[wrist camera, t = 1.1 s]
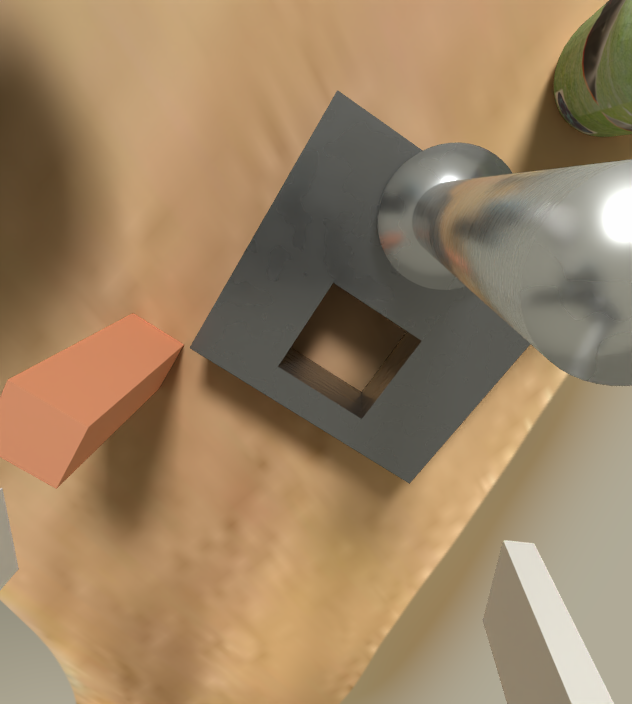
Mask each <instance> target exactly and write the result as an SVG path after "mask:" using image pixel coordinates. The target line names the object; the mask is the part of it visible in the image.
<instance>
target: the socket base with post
mask: <svg viewBox="0 0 632 704" xmlns="http://www.w3.org/2000/svg"><path fill="white" fill-rule="evenodd" d="M333 283H334V284H336V285H337V286H339V287H341V288H342V289H344V290H345V291H347V292H348V293H350V294H351V295H353V296H354V297H356V298H357V299H359V300H360V301H362V302H363V303H365V304H366V305H368V306H369V307H371V308H372V309H374V310H376V311H377V312H379V313H380V314H382V315H383V316H385V317H386V318H388V319H389V320H391V321H392V322H394V323H395V324H397V325H398V326H400V327H401V328H403V329H404V330H406V331H407V333H406V334H405V335H404V337H403V338H402V339H401V341H400V342H399V343H398V345H397V346H396V347H395V349H394V350H393V351H392V353H391V354H390V355H389V357H388V358H387V359H386V361H385V362H384V363H383V365H382V366H381V367H380V369H379V370H378V371H377V373H376V374H375V375H374V377H373V378H372V379H371V381H370V382H369V383H368V385H367V386H366V387H365V389H364V390H363V391H362V392H360V391H358V390H357V389H355V388H354V387H352V386H351V385H349V384H347V383H346V382H344V381H343V380H341V379H339V378H338V377H336V376H335V375H333V374H332V373H330V372H328V371H327V370H325V369H324V368H322V367H321V366H319V365H317V364H316V363H314V362H313V361H311V360H309V359H308V358H306V357H305V356H303V355H302V354H300V353H298V352H297V351H295V350H294V349H292V348H291V346H292V344H293V343H294V341H295V340H296V338H297V337H298V335H299V334H300V332H301V331H302V329H303V328H304V326H305V325H306V323H307V322H308V320H309V319H310V317H311V316H312V314H313V313H314V311H315V310H316V308H317V307H318V305H319V304H320V302H321V301H322V299H323V298H324V296H325V294H326V293H327V291H328V290H329V288H330V287H331V285H332V284H333ZM530 344H531V345H532V346H534V347H535V348H536V349H537V350H538V351H539V352H540V353H541V354H542V355H544V356H545V357H546V358H547V359H548V360H549V361H550V362H552V363H553V364H554V365H556V366H557V367H558V368H559V369H561V370H563V371H565V372H566V373H568V374H570V375H572V376H574V377H577V378H579V379H582V380H584V381H588V382H592V383H596V384H602V385H610V386H630V385H632V159H631V160H623V161H615V162H606V163H598V164H589V165H581V166H573V167H564V168H556V169H548V170H539V171H531V172H523V173H514V174H513V173H512V172H511V170H510V169H509V167H508V166H507V165H506V164H505V163H504V162H503V161H502V160H501V159H500V158H499V157H497V156H496V155H495V154H493V153H492V152H490V151H488V150H486V149H484V148H482V147H479V146H476V145H472V144H466V143H447V144H441V145H437V146H434V147H431V148H428V149H426V150H424V151H422V150H421V149H420V148H418V147H417V146H415V145H414V144H413V143H411V142H410V141H408V140H407V139H405V138H404V137H403V136H401V135H400V134H398V133H397V132H396V131H394V130H393V129H391V128H390V127H389V126H387V125H386V124H384V123H383V122H381V121H380V120H379V119H377V118H376V117H374V116H373V115H372V114H370V113H369V112H367V111H366V110H365V109H363V108H362V107H360V106H359V105H357V104H356V103H355V102H353V101H352V100H350V99H349V98H348V97H346V96H345V95H343V94H342V93H341V92H339V91H338V90H337V92H336V94H335V96H334V97H333V99H332V101H331V103H330V104H329V106H328V108H327V110H326V111H325V113H324V115H323V116H322V118H321V120H320V122H319V123H318V125H317V127H316V129H315V130H314V132H313V134H312V136H311V137H310V139H309V141H308V143H307V144H306V146H305V148H304V150H303V151H302V153H301V155H300V157H299V158H298V160H297V162H296V164H295V165H294V167H293V169H292V170H291V172H290V174H289V176H288V177H287V179H286V181H285V183H284V184H283V186H282V188H281V190H280V191H279V193H278V195H277V197H276V198H275V200H274V202H273V204H272V205H271V207H270V209H269V211H268V212H267V214H266V216H265V217H264V219H263V221H262V223H261V224H260V226H259V228H258V230H257V231H256V233H255V235H254V237H253V238H252V240H251V242H250V244H249V245H248V247H247V249H246V251H245V252H244V254H243V256H242V258H241V259H240V261H239V263H238V265H237V266H236V268H235V270H234V271H233V273H232V275H231V277H230V278H229V280H228V282H227V284H226V285H225V287H224V289H223V291H222V292H221V294H220V296H219V298H218V299H217V301H216V303H215V305H214V306H213V308H212V310H211V312H210V313H209V315H208V317H207V318H206V320H205V322H204V324H203V325H202V327H201V329H200V331H199V332H198V334H197V336H196V338H195V339H194V341H193V343H192V345H191V346H190V349H192V350H194V351H195V352H197V353H199V354H200V355H202V356H203V357H205V358H207V359H208V360H210V361H212V362H213V363H215V364H216V365H218V366H220V367H221V368H223V369H225V370H226V371H228V372H229V373H231V374H233V375H234V376H236V377H237V378H239V379H241V380H242V381H244V382H246V383H247V384H249V385H250V386H252V387H254V388H255V389H257V390H259V391H260V392H262V393H263V394H265V395H267V396H268V397H270V398H272V399H273V400H275V401H276V402H278V403H280V404H281V405H283V406H284V407H286V408H288V409H289V410H291V411H293V412H294V413H296V414H297V415H299V416H301V417H302V418H304V419H306V420H307V421H309V422H310V423H312V424H314V425H315V426H317V427H319V428H320V429H322V430H323V431H325V432H327V433H328V434H330V435H332V436H333V437H335V438H336V439H338V440H340V441H341V442H343V443H344V444H346V445H348V446H349V447H351V448H353V449H354V450H356V451H357V452H359V453H361V454H362V455H364V456H366V457H367V458H369V459H370V460H372V461H374V462H375V463H377V464H379V465H380V466H382V467H383V468H385V469H387V470H388V471H390V472H391V473H393V474H395V475H396V476H398V477H400V478H401V479H403V480H404V481H406V482H408V483H409V484H410V482H411V481H412V480H413V479H414V478H415V477H416V476H417V474H418V473H419V472H420V471H421V470H422V469H423V467H424V466H425V465H426V464H427V463H428V462H429V460H430V459H431V458H432V457H433V456H434V455H435V454H436V452H437V451H438V450H439V449H440V448H441V447H442V445H443V444H444V443H445V442H446V441H447V440H448V439H449V437H450V436H451V435H452V434H453V433H454V432H455V430H456V429H457V428H458V427H459V426H460V425H461V424H462V422H463V421H464V420H465V419H466V418H467V417H468V415H469V414H470V413H471V412H472V411H473V410H474V408H475V407H476V406H477V405H478V404H479V403H480V402H481V400H482V399H483V398H484V397H485V396H486V395H487V393H488V392H489V391H490V390H491V389H492V388H493V387H494V385H495V384H496V383H497V382H498V381H499V380H500V378H501V377H502V376H503V375H504V374H505V373H506V372H507V370H508V369H509V368H510V367H511V366H512V365H513V363H514V362H515V361H516V360H517V359H518V358H519V356H520V355H521V354H522V353H523V352H524V351H525V350H526V348H527V347H528V346H529V345H530Z"/></svg>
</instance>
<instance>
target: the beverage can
mask: <svg viewBox="0 0 632 704" xmlns="http://www.w3.org/2000/svg"><path fill="white" fill-rule="evenodd" d="M554 96H555V101H556V104H557V107H558V109H559V112H560V113H561V115H562V116H563V118H564V119H565V120H566V121H567V122H568V123H569V124H570V125H571V126H572V127H573V128H575V129H576V130H578V131H580V132H582V133H585V134H588V135H591V136H598V137H612V136H621V135H629V134H632V0H609V1H608V2H607V3H606V4H605V5H604V6H602V7H601V8H600V9H599V10H598V11H597V12H596V13H595V14H594V15H592V16H591V17H590V18H589V19H588V20H587V21H586V22H585V23H584V24H582V25H581V26H580V27H579V29H578V30H577V31H576V32H575V33H574V34H573V35H572V37H571V38H570V40H569V41H568V43H567V44H566V46H565V47H564V49H563V51H562V53H561V55H560V57H559V60H558V63H557V67H556V70H555V76H554Z"/></svg>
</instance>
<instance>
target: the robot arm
mask: <svg viewBox="0 0 632 704" xmlns="http://www.w3.org/2000/svg"><path fill="white" fill-rule="evenodd" d="M18 569H19V568H18V563H17V558H16V553H15V548H14V543H13V538H12V534H11V529H10V524H9V519H8V514H7V509H6V504H5V499H4V494H3V489H2V488H0V590H1V589H2V588H3V586H4V585H5V584H6V583H7V582H8V581H9V580H10V578H11V577H12V576H13V575H14V574H15V573H16V571H17V570H18ZM483 623H484V626H485V630H486V633H487V636H488V640H489V643H490V647H491V650H492V654H493V657H494V660H495V663H496V667H497V670H498V674H499V677H500V681H501V684H502V687H503V691H504V694H505V698H506V701H507V704H614V702H613V701H612V698H611V697H610V694H609V693H608V690H607V689H606V686H605V684H604V682H603V680H602V678H601V677H600V675H599V672H598V670H597V669H596V666H595V664H594V662H593V660H592V658H591V656H590V654H589V652H588V650H587V649H586V646H585V644H584V643H583V640H582V638H581V636H580V634H579V632H578V630H577V628H576V627H575V624H574V622H573V620H572V618H571V616H570V614H569V612H568V610H567V608H566V606H565V604H564V602H563V600H562V599H561V596H560V595H559V592H558V590H557V588H556V586H555V584H554V582H553V580H552V578H551V576H550V574H549V572H548V570H547V568H546V566H545V564H544V562H543V560H542V558H541V557H540V554H539V552H538V550H537V548H536V547H535V544H534V543H526V542H517V541H507V540H503V543H502V547H501V551H500V555H499V559H498V563H497V567H496V570H495V574H494V578H493V582H492V586H491V590H490V594H489V598H488V602H487V606H486V610H485V614H484V618H483Z"/></svg>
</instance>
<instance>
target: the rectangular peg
mask: <svg viewBox="0 0 632 704" xmlns="http://www.w3.org/2000/svg"><path fill="white" fill-rule="evenodd" d="M183 345H184V344H182V343H180V342H179V341H177V340H176V339H174V338H172V337H171V336H169V335H168V334H166V333H164V332H163V331H161V330H159V329H158V328H156V327H155V326H153V325H151V324H150V323H148V322H146V321H145V320H143V319H142V318H140V317H138V316H137V315H135V314H133V313H132V314H130V315H128V316H126V317H125V318H123V319H121V320H119V321H117V322H115V323H113V324H111V325H110V326H108V327H106V328H104V329H102V330H100V331H98V332H96V333H94V334H93V335H91V336H89V337H87V338H85V339H83V340H81V341H79V342H78V343H76V344H74V345H72V346H70V347H68V348H66V349H64V350H63V351H61V352H59V353H57V354H55V355H53V356H51V357H49V358H47V359H46V360H44V361H42V362H40V363H38V364H36V365H34V366H32V367H31V368H29V369H27V370H25V371H23V372H21V373H19V374H17V375H15V376H14V377H12V378H10V379H8V380H7V382H6V384H5V387H4V389H3V391H2V394H1V396H0V457H1V458H3V459H5V460H6V461H8V462H10V463H12V464H13V465H15V466H17V467H19V468H21V469H22V470H24V471H26V472H28V473H29V474H31V475H33V476H35V477H37V478H38V479H40V480H42V481H44V482H45V483H47V484H49V485H51V486H53V487H54V488H56V489H57V488H58V487H59V486H60V485H61V484H62V483H63V482H64V481H65V480H66V479H67V478H68V477H69V476H70V475H71V474H72V473H73V472H74V471H75V470H76V469H77V468H78V467H79V466H80V465H81V464H82V463H83V462H84V461H85V460H86V459H87V458H88V457H89V456H90V455H91V454H92V453H94V452H95V451H96V450H97V449H98V448H99V447H100V446H101V445H102V444H103V443H104V442H105V441H106V440H107V439H108V438H109V437H110V436H111V435H112V434H113V433H114V432H115V431H116V430H117V429H118V428H119V427H120V426H121V425H122V424H123V423H124V422H125V421H126V420H127V419H128V418H129V417H130V416H131V415H132V414H134V413H135V412H136V411H137V410H138V409H139V408H140V407H141V406H142V405H143V404H144V403H145V402H146V401H147V400H148V399H149V398H150V397H151V396H152V395H153V394H154V393H155V392H156V391H157V390H158V389H159V388H160V386H161V384H162V382H163V381H164V379H165V377H166V375H167V374H168V372H169V370H170V368H171V367H172V365H173V363H174V361H175V360H176V358H177V356H178V354H179V353H180V351H181V349H182V347H183Z"/></svg>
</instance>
